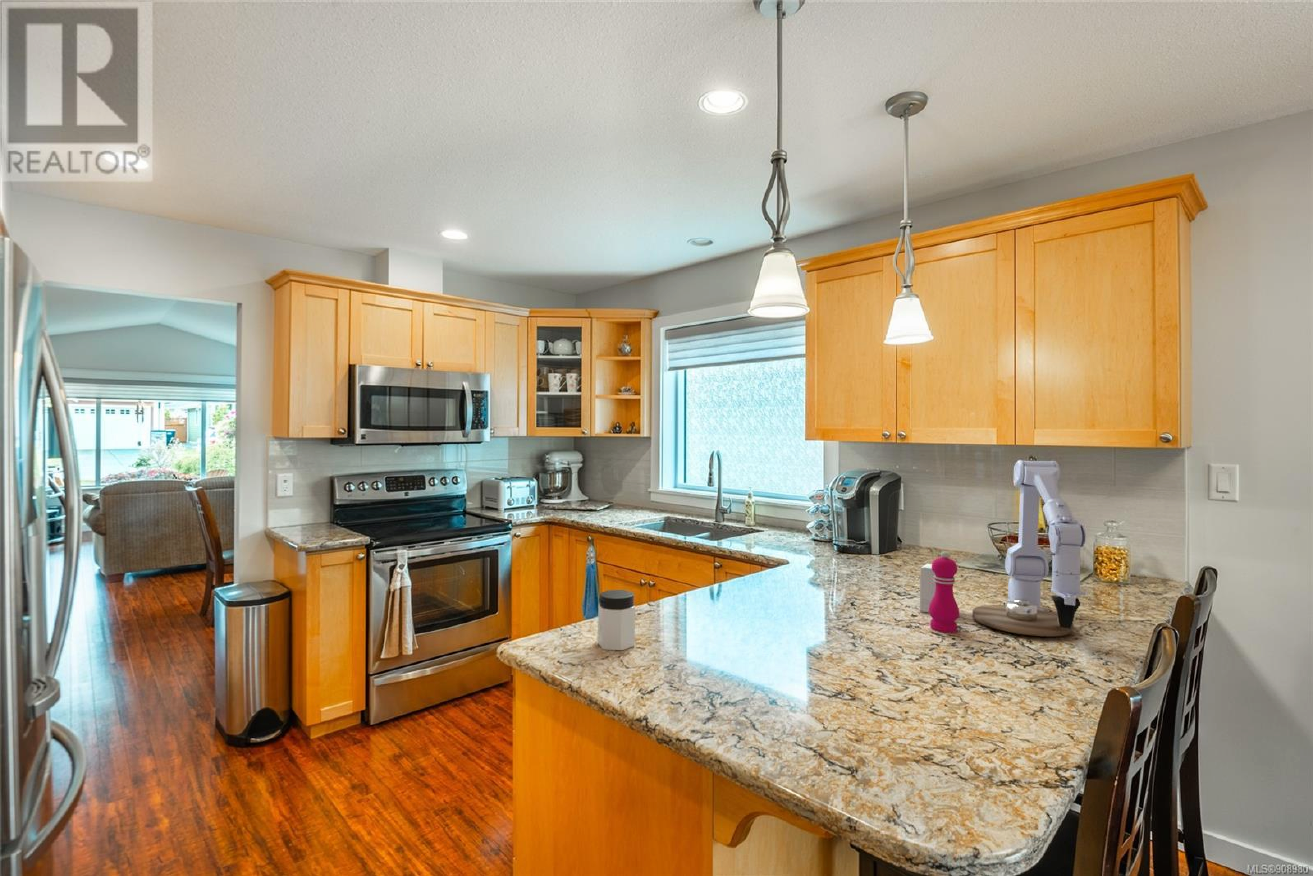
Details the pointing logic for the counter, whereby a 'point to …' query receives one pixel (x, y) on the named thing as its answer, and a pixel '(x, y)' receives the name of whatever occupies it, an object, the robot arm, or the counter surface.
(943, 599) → the pepper mill
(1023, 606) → the aluminium cover
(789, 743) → the counter surface
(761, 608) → the counter surface
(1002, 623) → the turntable top
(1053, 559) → the robot arm
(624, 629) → the jar
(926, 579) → the supplement box
